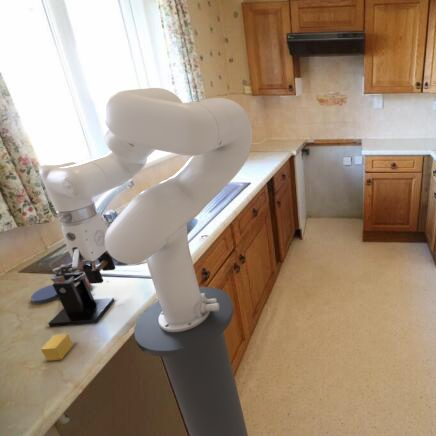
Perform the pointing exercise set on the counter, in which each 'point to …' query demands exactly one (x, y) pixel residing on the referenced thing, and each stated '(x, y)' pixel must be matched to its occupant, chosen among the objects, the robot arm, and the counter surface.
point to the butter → (57, 347)
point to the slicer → (78, 303)
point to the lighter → (66, 269)
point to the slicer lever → (81, 277)
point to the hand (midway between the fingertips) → (103, 275)
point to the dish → (44, 295)
